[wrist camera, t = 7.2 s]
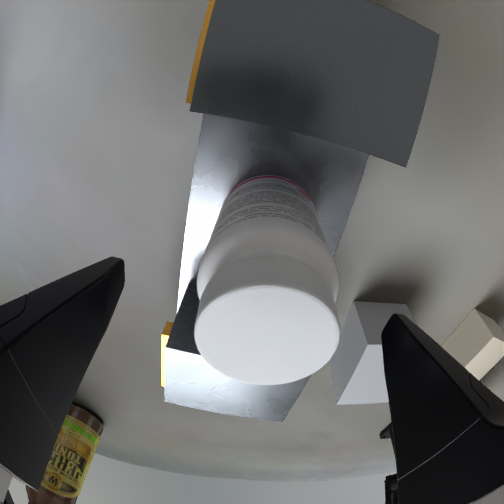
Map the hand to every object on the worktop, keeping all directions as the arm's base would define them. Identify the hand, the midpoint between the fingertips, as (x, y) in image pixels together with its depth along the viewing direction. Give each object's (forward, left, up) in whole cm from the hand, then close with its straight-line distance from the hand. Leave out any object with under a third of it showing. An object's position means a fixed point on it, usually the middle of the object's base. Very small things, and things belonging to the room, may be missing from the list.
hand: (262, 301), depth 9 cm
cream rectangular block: (-6, -19, -8) cm, 21 cm away
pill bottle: (0, 0, -7) cm, 7 cm away
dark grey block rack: (0, 0, -7) cm, 7 cm away
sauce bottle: (-30, +16, -8) cm, 35 cm away
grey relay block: (-7, -9, -8) cm, 14 cm away
